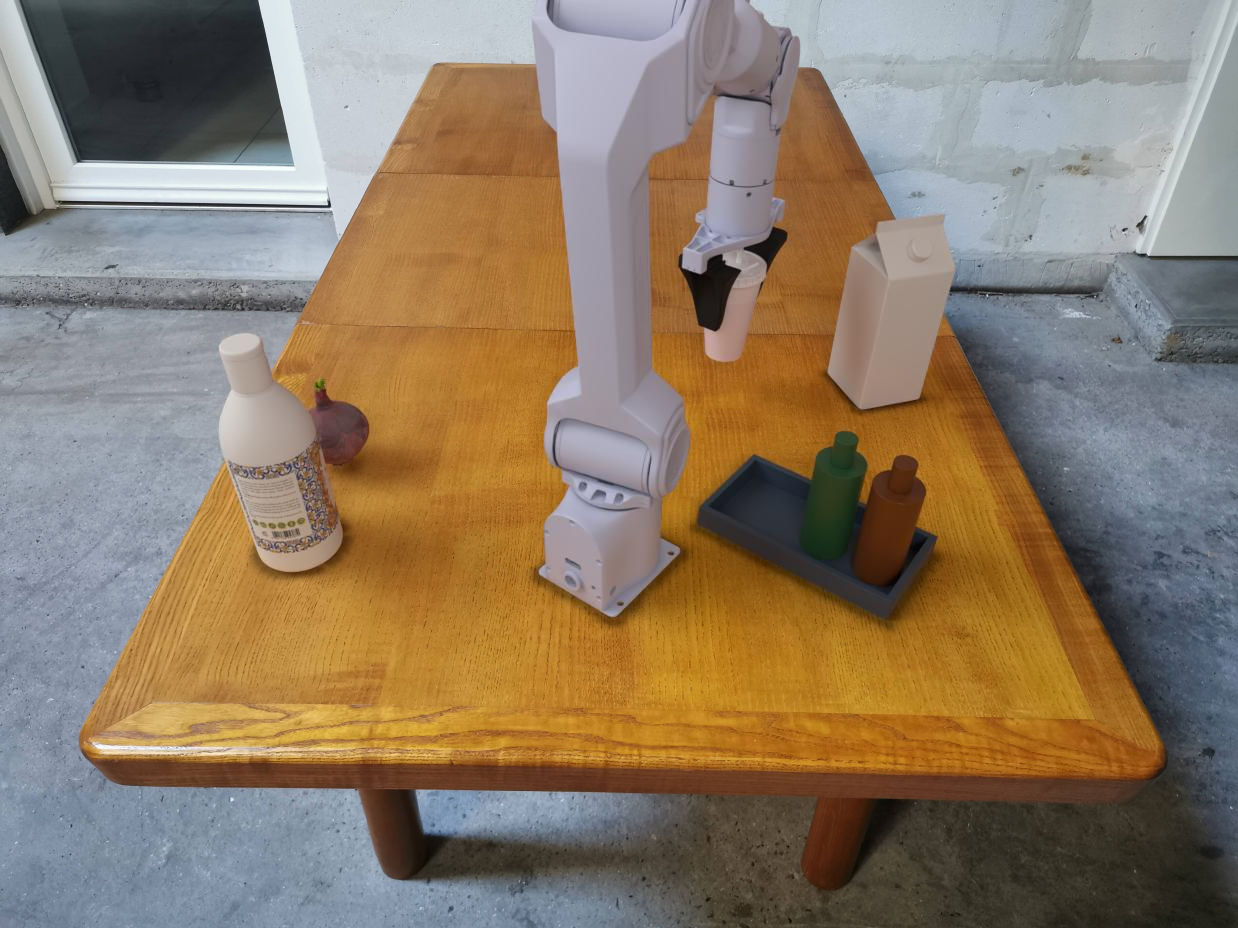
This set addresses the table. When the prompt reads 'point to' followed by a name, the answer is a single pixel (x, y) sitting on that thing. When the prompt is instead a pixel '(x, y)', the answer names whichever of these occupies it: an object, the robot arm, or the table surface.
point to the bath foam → (276, 463)
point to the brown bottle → (889, 523)
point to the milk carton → (891, 311)
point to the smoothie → (737, 307)
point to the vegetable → (338, 427)
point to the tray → (799, 533)
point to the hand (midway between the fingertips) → (727, 313)
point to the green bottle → (833, 498)
